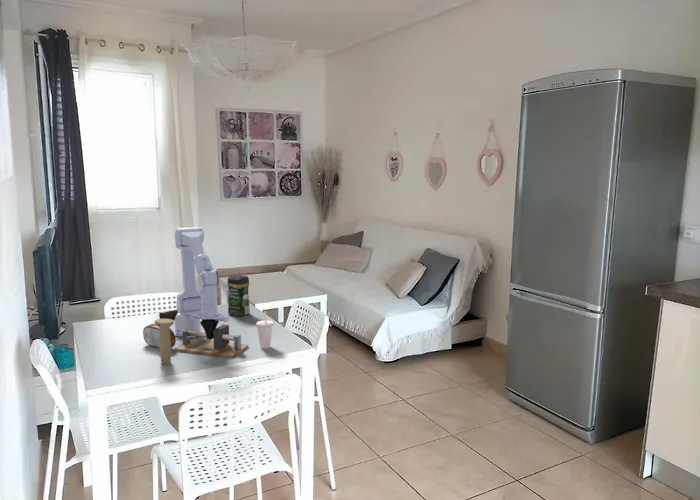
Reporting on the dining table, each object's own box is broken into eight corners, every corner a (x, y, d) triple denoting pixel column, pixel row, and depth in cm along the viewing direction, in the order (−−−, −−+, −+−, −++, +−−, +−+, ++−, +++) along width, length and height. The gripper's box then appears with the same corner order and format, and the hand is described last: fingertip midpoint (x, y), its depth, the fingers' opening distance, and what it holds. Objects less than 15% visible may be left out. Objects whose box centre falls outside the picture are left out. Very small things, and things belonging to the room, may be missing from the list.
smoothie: (259, 350, 199) (259, 314, 197) (254, 345, 205) (253, 310, 202) (276, 348, 202) (275, 312, 200) (270, 343, 208) (269, 308, 205)
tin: (176, 349, 200) (175, 327, 199) (170, 352, 197) (169, 329, 196) (148, 342, 207) (147, 321, 206) (142, 345, 205) (140, 323, 203)
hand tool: (163, 322, 235) (162, 312, 235) (158, 320, 238) (158, 310, 237) (201, 314, 249) (201, 304, 248) (196, 312, 252) (196, 302, 251)
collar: (213, 348, 196) (213, 329, 195) (223, 342, 203) (223, 324, 202) (219, 349, 195) (219, 330, 194) (229, 343, 202) (228, 324, 201)
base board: (174, 351, 198) (174, 348, 198) (192, 341, 210) (192, 338, 209) (233, 357, 192) (232, 354, 191) (248, 347, 203) (248, 344, 203)
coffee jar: (225, 314, 247) (224, 275, 244) (237, 310, 254) (236, 272, 251) (241, 317, 242) (240, 277, 239) (252, 313, 249) (251, 274, 246)
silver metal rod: (183, 344, 202) (182, 330, 202) (186, 342, 205) (186, 328, 204) (238, 350, 196) (237, 336, 195) (241, 348, 198) (240, 334, 198)
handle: (164, 358, 190) (162, 317, 188) (178, 361, 187) (176, 320, 185) (153, 363, 186) (151, 321, 184) (167, 366, 183) (166, 323, 181)
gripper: (185, 304, 193) (186, 340, 195) (221, 307, 189) (222, 344, 191) (196, 299, 200) (197, 334, 202) (231, 302, 196) (232, 338, 198)
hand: (210, 339), depth 197 cm, fingers closed
